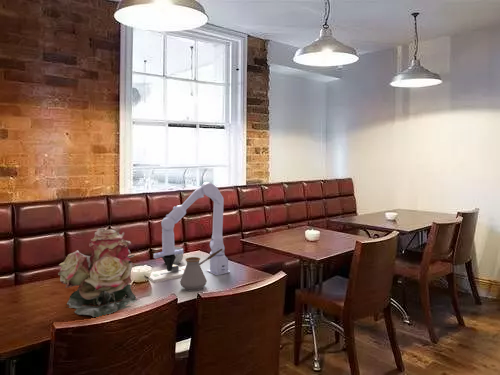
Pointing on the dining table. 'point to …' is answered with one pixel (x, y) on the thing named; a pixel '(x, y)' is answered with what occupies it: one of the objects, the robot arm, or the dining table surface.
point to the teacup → (178, 256)
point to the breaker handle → (175, 268)
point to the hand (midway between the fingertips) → (169, 270)
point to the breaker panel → (166, 274)
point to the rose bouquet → (100, 275)
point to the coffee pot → (194, 274)
